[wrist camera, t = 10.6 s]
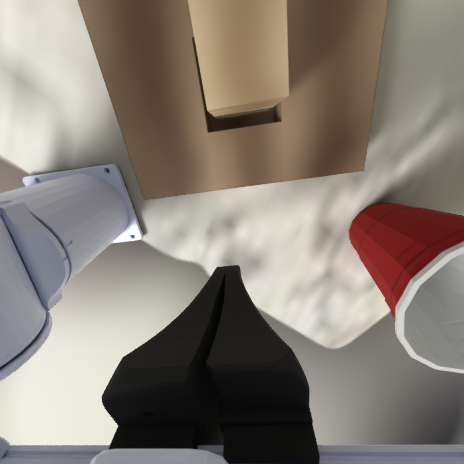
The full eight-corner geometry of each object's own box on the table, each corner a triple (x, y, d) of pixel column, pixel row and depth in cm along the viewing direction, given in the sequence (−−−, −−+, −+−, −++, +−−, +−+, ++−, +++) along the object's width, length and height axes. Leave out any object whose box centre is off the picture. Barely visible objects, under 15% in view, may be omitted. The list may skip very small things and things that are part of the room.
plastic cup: (392, 150, 19) (610, 174, 8) (449, 221, 22) (664, 308, 11) (302, 232, 22) (366, 324, 12) (361, 282, 25) (455, 394, 14)
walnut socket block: (158, 189, 20) (144, 199, 17) (100, -6, 14) (62, -44, 11) (342, 164, 19) (364, 170, 16) (364, -60, 13) (405, -121, 10)
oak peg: (218, 120, 17) (206, 112, 10) (208, 60, 16) (185, -3, 8) (266, 112, 17) (290, 97, 10) (262, 49, 15) (287, -26, 8)
